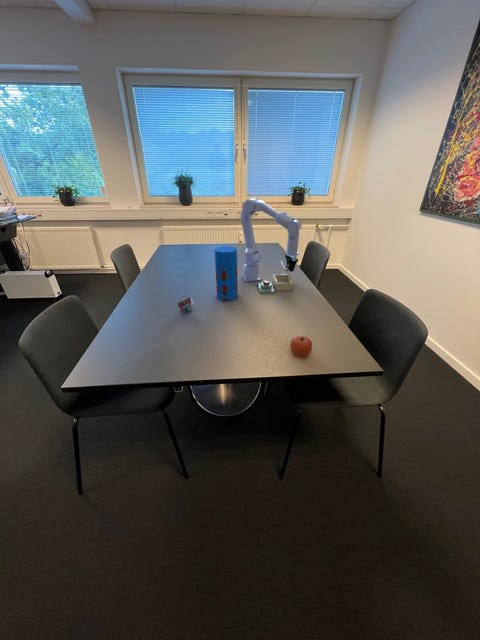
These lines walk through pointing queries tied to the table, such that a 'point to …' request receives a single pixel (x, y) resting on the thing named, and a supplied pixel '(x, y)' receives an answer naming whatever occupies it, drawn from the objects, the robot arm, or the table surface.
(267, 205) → the robot arm
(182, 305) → the geometric puzzle
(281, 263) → the lid
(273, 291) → the control pad
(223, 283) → the thermos
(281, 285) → the beige open box
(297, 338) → the red apple
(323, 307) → the table surface
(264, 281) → the button
